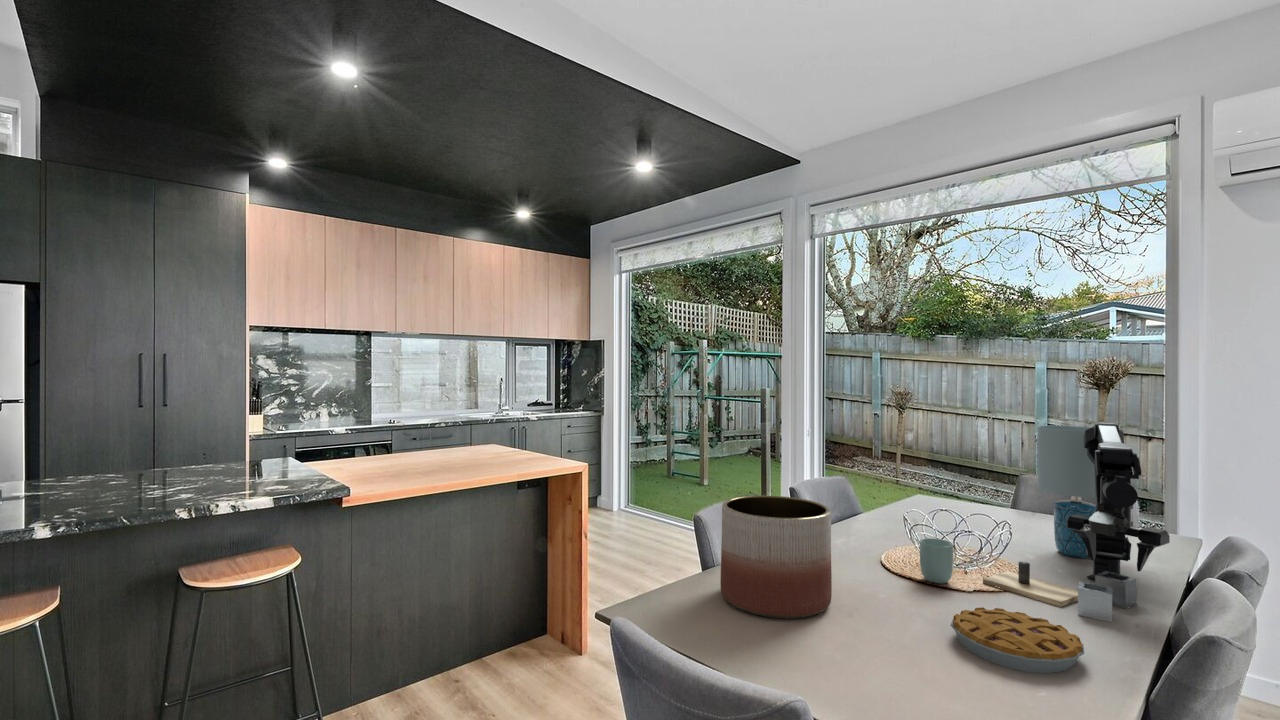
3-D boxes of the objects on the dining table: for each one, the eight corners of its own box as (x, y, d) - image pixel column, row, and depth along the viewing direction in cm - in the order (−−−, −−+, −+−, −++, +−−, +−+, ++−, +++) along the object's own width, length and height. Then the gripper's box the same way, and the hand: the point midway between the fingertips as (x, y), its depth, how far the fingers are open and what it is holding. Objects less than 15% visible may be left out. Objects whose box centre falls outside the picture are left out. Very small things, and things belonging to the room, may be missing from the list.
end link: (1106, 595, 147) (1106, 570, 147) (1136, 603, 142) (1136, 578, 142) (1095, 600, 144) (1095, 574, 144) (1125, 608, 139) (1125, 582, 139)
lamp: (1096, 548, 188) (1096, 426, 189) (1131, 567, 169) (1131, 432, 170) (1027, 543, 192) (1027, 424, 193) (1054, 561, 174) (1054, 430, 174)
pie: (1033, 688, 103) (1033, 659, 104) (927, 636, 124) (927, 612, 124) (1110, 665, 112) (1110, 638, 112) (999, 620, 132) (999, 597, 132)
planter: (837, 591, 148) (838, 501, 148) (822, 631, 125) (823, 524, 125) (737, 575, 159) (737, 491, 159) (706, 609, 136) (706, 511, 136)
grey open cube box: (1079, 607, 140) (1079, 580, 140) (1112, 613, 136) (1112, 587, 136) (1078, 615, 135) (1077, 588, 135) (1112, 622, 131) (1111, 594, 131)
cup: (957, 587, 152) (957, 547, 152) (924, 584, 153) (924, 545, 153) (948, 577, 159) (948, 539, 159) (916, 574, 161) (916, 537, 161)
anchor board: (1008, 575, 161) (1008, 552, 161) (1085, 597, 146) (1085, 571, 146) (982, 583, 155) (982, 558, 155) (1061, 607, 140) (1061, 580, 140)
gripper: (1055, 495, 147) (1055, 560, 147) (1150, 511, 131) (1150, 583, 131) (1076, 491, 153) (1077, 553, 153) (1170, 505, 137) (1170, 575, 137)
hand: (1115, 565), depth 143 cm, fingers open, 9 cm apart
